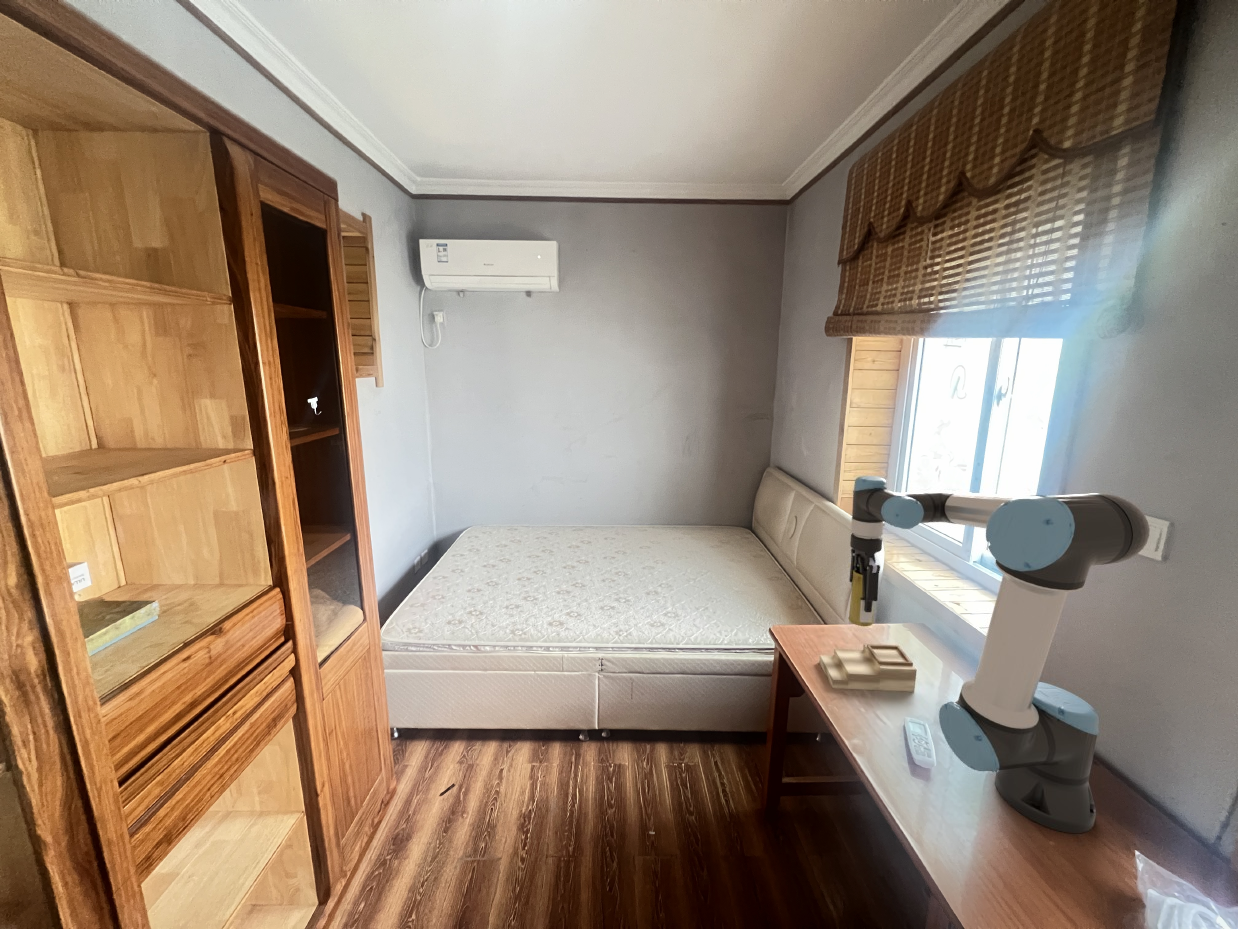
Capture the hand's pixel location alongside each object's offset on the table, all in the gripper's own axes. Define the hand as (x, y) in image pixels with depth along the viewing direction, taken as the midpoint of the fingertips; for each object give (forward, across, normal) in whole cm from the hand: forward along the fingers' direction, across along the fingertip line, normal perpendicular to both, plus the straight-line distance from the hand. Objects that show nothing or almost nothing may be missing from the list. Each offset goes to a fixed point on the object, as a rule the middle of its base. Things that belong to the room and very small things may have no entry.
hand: (860, 616), depth 135 cm
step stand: (+18, +1, -2) cm, 19 cm away
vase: (+2, 0, 0) cm, 2 cm away
